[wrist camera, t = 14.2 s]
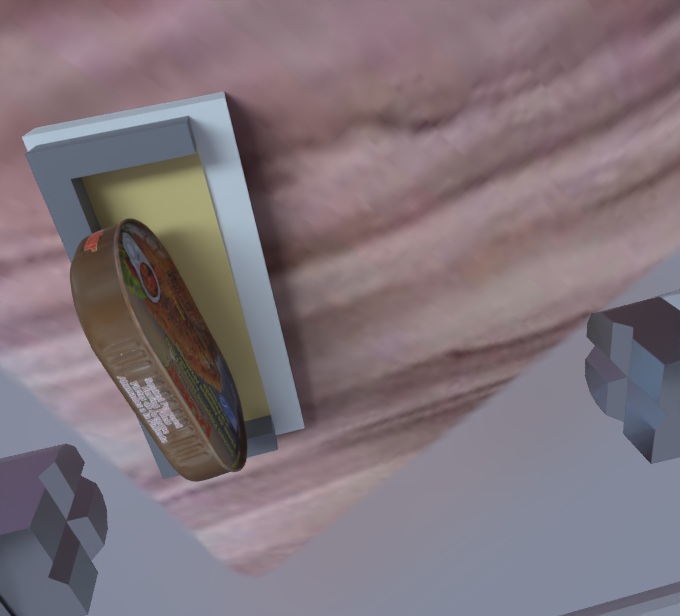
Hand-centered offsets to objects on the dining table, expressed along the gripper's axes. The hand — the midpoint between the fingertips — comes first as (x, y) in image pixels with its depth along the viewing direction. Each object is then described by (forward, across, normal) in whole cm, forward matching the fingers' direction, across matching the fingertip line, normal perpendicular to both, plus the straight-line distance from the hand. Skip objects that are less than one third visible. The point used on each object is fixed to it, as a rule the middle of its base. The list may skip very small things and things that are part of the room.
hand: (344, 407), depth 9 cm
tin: (+24, +8, +10) cm, 27 cm away
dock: (+26, +7, +9) cm, 28 cm away
